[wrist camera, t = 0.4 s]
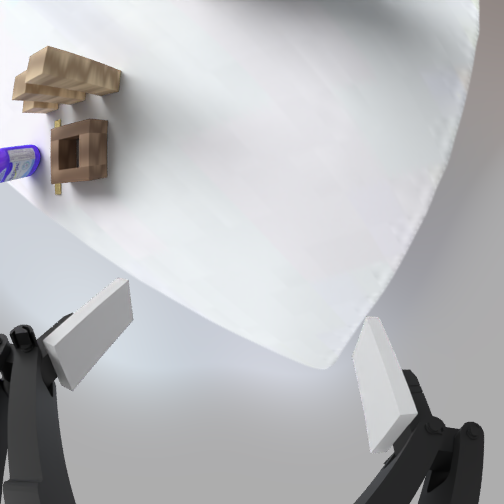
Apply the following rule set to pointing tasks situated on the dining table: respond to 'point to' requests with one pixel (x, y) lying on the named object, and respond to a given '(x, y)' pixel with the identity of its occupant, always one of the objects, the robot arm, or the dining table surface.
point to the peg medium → (44, 92)
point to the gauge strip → (58, 186)
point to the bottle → (18, 162)
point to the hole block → (90, 151)
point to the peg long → (71, 72)
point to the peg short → (39, 107)
